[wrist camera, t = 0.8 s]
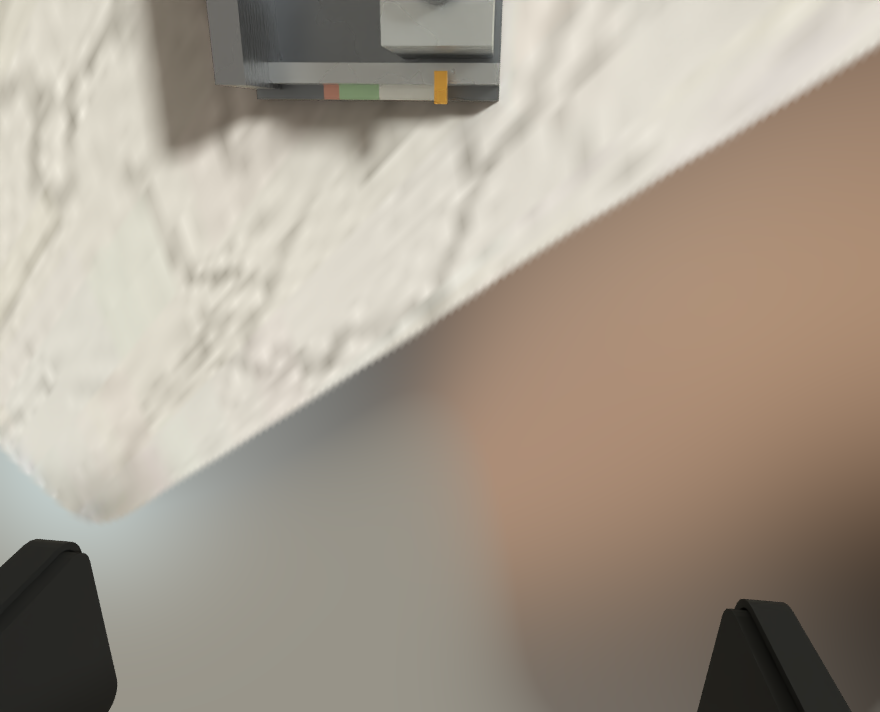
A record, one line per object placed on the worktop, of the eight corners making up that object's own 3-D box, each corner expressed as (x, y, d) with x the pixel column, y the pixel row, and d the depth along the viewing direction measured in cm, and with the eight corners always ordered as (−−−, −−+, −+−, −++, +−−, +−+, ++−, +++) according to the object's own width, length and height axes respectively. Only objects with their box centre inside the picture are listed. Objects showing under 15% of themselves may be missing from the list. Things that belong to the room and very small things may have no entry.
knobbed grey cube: (497, -68, 25) (497, -123, 19) (491, 105, 27) (489, 102, 22) (399, -67, 25) (370, -121, 20) (401, 104, 28) (376, 101, 22)
